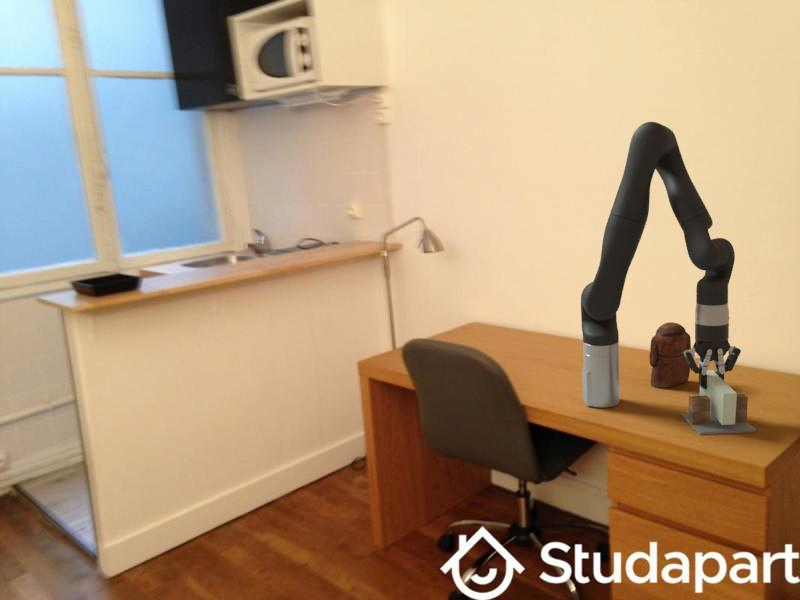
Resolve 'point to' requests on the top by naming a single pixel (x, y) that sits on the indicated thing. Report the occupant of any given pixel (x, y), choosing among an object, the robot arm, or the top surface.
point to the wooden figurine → (669, 355)
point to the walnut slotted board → (701, 409)
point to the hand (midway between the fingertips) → (711, 387)
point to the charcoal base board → (720, 426)
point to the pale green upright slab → (720, 398)
